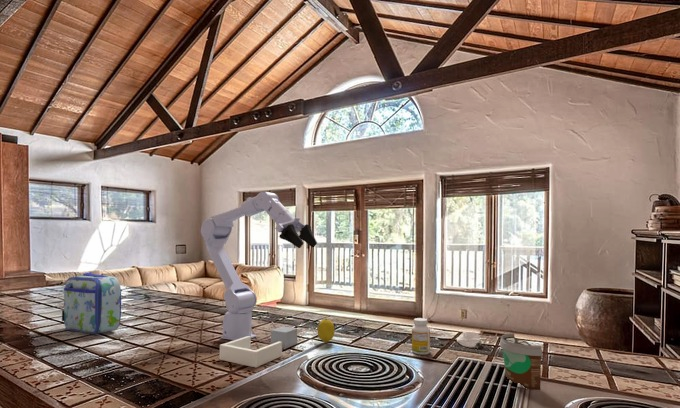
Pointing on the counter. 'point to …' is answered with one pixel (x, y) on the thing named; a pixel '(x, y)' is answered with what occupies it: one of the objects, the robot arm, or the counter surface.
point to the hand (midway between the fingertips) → (308, 245)
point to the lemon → (326, 330)
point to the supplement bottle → (420, 337)
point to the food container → (522, 361)
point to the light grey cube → (284, 336)
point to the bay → (249, 352)
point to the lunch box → (92, 303)
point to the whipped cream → (469, 339)
